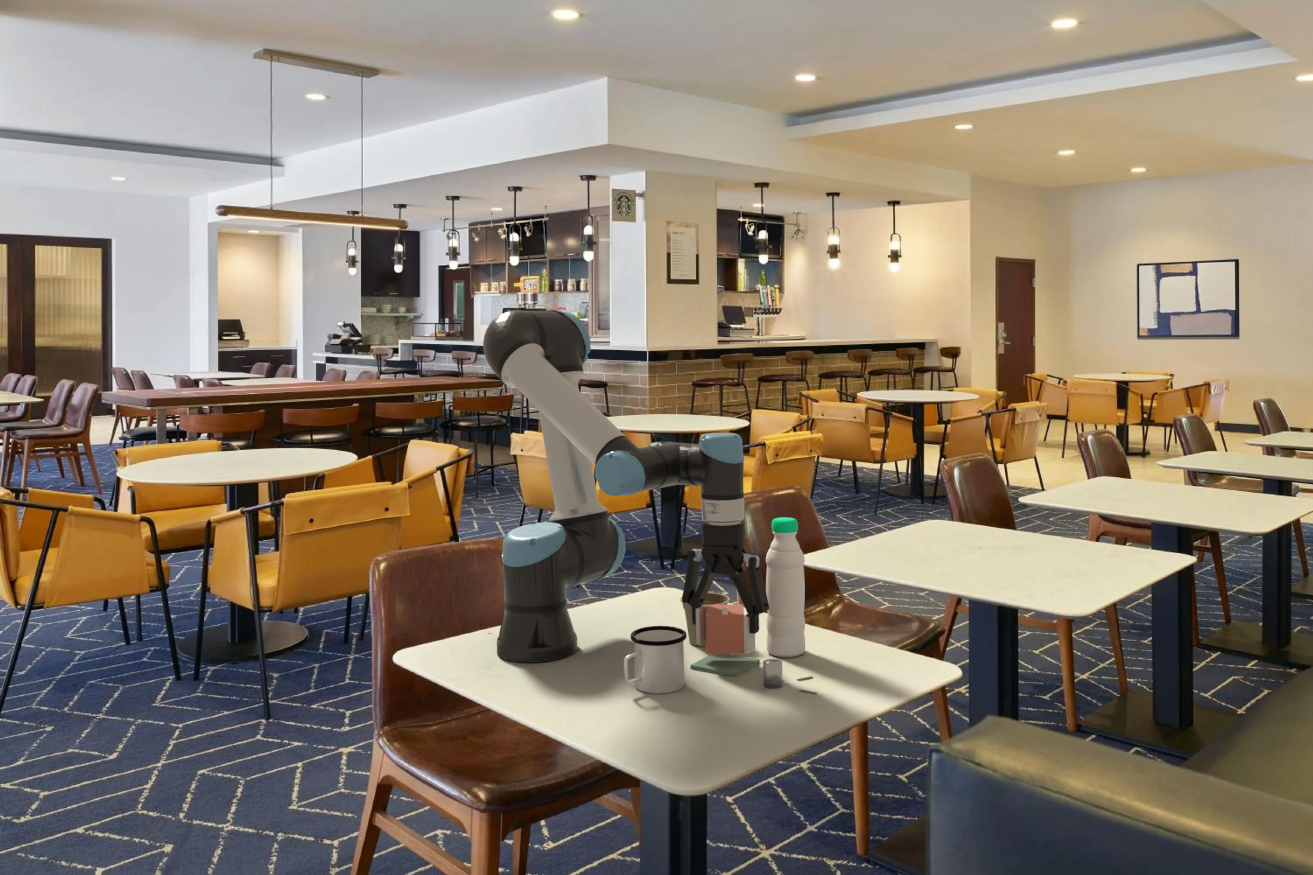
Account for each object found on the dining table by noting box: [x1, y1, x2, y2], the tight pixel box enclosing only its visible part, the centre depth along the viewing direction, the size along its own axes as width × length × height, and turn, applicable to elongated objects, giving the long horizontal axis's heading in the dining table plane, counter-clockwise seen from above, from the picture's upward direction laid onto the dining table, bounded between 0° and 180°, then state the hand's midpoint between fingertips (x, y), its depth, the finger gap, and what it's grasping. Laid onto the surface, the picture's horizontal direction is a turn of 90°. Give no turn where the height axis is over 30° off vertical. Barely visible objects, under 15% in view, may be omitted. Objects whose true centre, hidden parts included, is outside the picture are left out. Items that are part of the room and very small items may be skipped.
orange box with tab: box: [705, 604, 745, 655], centre depth 182 cm, size 7×7×8 cm
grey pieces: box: [762, 658, 818, 695], centre depth 172 cm, size 10×9×4 cm
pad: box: [690, 654, 761, 678], centre depth 183 cm, size 9×9×1 cm
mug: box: [623, 625, 688, 695], centre depth 172 cm, size 12×10×9 cm
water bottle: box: [765, 516, 806, 658], centre depth 188 cm, size 7×7×25 cm
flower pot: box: [680, 591, 730, 648], centre depth 196 cm, size 9×9×9 cm
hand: (725, 646), depth 182 cm, fingers closed on orange box with tab, 9 cm apart
